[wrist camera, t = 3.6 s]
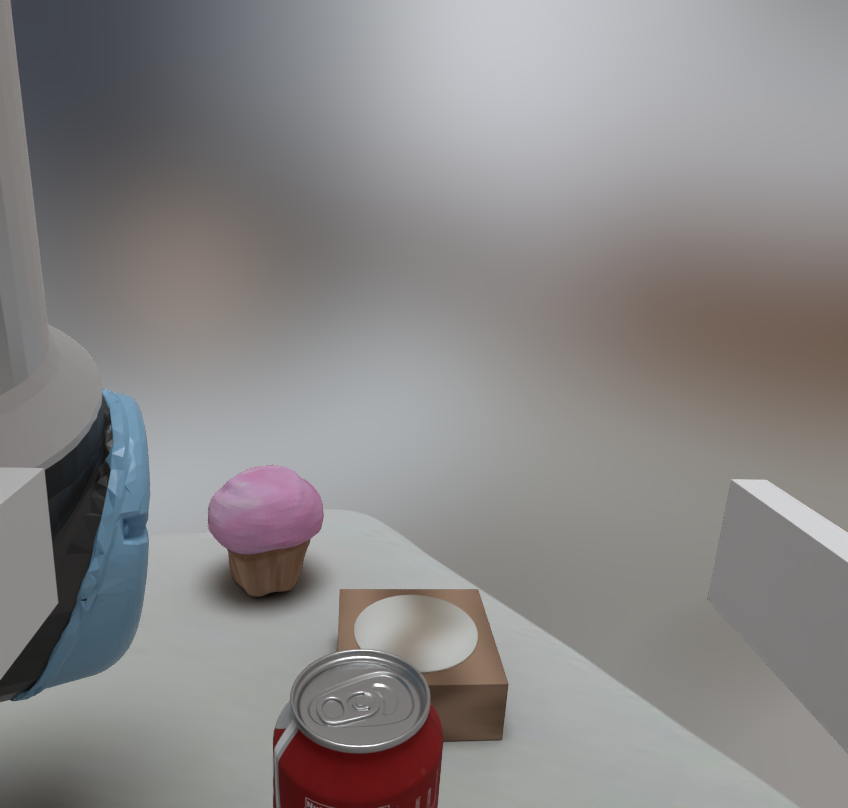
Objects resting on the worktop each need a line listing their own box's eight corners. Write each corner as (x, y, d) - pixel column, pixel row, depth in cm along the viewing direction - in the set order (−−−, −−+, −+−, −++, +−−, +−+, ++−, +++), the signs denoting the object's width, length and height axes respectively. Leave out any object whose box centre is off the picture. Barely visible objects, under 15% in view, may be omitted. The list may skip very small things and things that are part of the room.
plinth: (334, 743, 39) (336, 683, 38) (338, 637, 49) (339, 586, 47) (501, 739, 40) (508, 681, 39) (473, 636, 50) (478, 587, 48)
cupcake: (301, 550, 60) (302, 446, 57) (337, 600, 53) (340, 484, 50) (199, 570, 56) (195, 459, 53) (223, 628, 49) (220, 503, 46)
